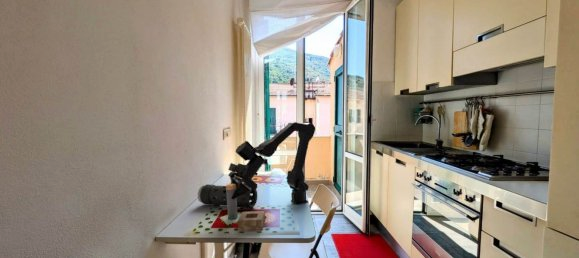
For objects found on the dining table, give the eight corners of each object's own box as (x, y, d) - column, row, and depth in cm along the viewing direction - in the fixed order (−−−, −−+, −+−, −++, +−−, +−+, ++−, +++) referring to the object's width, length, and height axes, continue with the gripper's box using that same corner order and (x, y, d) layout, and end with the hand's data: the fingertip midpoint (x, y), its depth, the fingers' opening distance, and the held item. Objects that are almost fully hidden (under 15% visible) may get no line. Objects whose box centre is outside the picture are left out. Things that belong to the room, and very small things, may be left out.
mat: (239, 213, 116) (239, 212, 116) (248, 219, 109) (248, 218, 109) (219, 218, 111) (219, 217, 111) (227, 225, 104) (227, 223, 104)
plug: (237, 215, 112) (235, 183, 111) (237, 219, 108) (235, 185, 107) (228, 216, 111) (226, 184, 110) (227, 220, 107) (225, 186, 106)
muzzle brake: (249, 212, 117) (248, 190, 117) (197, 208, 126) (195, 187, 125) (258, 205, 126) (257, 184, 126) (209, 201, 135) (207, 182, 134)
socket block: (264, 220, 107) (264, 211, 106) (262, 230, 98) (261, 219, 97) (243, 221, 107) (242, 211, 107) (238, 231, 98) (237, 220, 98)
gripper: (231, 153, 119) (208, 181, 113) (249, 158, 103) (223, 191, 98) (248, 168, 123) (226, 196, 118) (267, 174, 108) (244, 207, 102)
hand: (229, 197), depth 109 cm, fingers open, 5 cm apart
